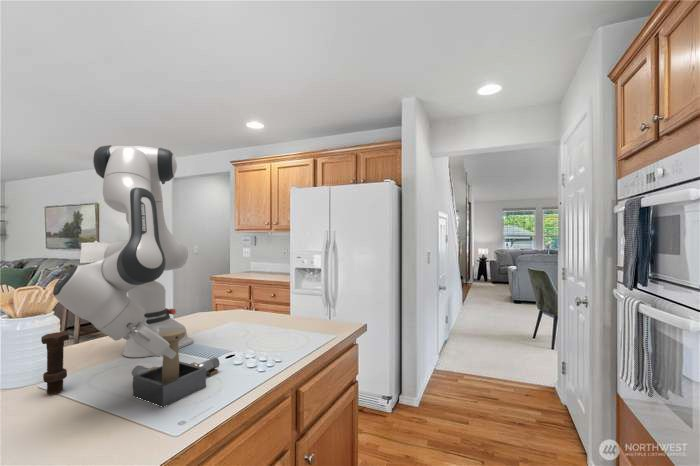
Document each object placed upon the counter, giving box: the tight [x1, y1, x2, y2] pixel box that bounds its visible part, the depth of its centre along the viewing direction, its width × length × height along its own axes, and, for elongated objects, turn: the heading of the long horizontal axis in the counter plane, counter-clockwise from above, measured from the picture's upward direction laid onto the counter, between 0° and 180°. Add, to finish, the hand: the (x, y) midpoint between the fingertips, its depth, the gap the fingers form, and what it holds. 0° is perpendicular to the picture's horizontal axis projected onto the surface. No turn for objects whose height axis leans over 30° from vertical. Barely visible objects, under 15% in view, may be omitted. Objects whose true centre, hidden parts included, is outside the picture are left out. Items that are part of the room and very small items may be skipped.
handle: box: [159, 330, 185, 384], centre depth 87 cm, size 5×6×15 cm
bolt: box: [41, 331, 70, 396], centre depth 86 cm, size 6×5×15 cm
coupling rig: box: [131, 357, 220, 408], centre depth 92 cm, size 20×20×5 cm
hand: (169, 351), depth 86 cm, fingers open, 6 cm apart
